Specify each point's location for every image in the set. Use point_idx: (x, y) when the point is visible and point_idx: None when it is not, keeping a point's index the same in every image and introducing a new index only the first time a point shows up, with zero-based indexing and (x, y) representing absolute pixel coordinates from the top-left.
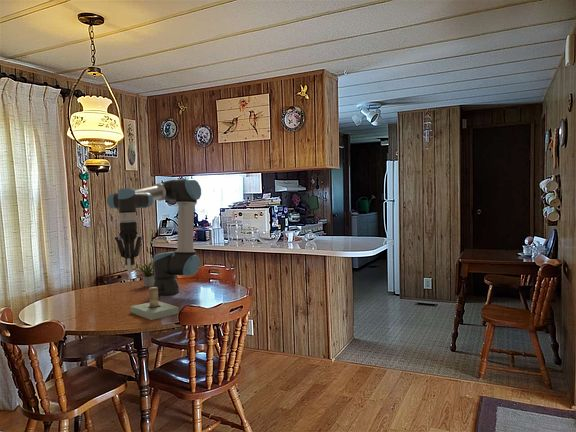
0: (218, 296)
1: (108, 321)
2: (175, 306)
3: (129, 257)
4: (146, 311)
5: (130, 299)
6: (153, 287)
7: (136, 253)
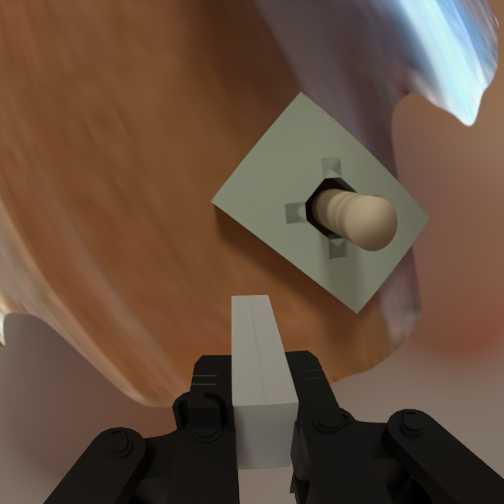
0: (444, 3)
1: (191, 328)
2: (418, 207)
3: (293, 491)
4: (330, 289)
5: (112, 4)
6: (370, 210)
7: (422, 497)
